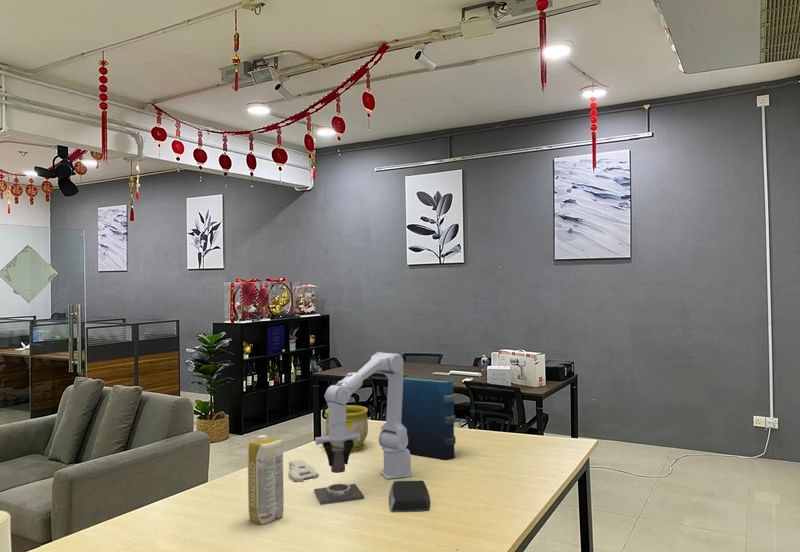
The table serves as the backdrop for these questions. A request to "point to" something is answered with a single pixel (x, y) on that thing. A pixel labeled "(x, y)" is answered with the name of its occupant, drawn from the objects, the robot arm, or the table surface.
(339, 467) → the blue-grey cylinder
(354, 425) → the flowerpot
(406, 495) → the external hard drive
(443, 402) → the book
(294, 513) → the table surface
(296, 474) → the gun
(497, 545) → the table surface
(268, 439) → the juice carton
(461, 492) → the table surface
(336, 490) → the metal base plate
